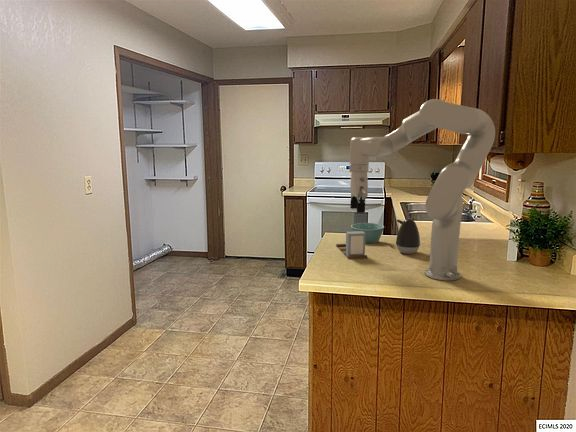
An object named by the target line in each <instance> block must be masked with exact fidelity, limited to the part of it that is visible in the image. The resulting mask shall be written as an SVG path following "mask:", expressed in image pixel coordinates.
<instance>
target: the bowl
mask: <svg viewBox="0 0 576 432" xmlns="http://www.w3.org/2000/svg"><path fill="white" fill-rule="evenodd" d="M350 227H351V232H353V231H363V232H364V233H365V244H377V243H379V241H380V238H381V236H382V235H383V232H384V229H385V226H384V225H382V224H380V223H373V222H358V223H354V224H351V225H350Z"/></svg>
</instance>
